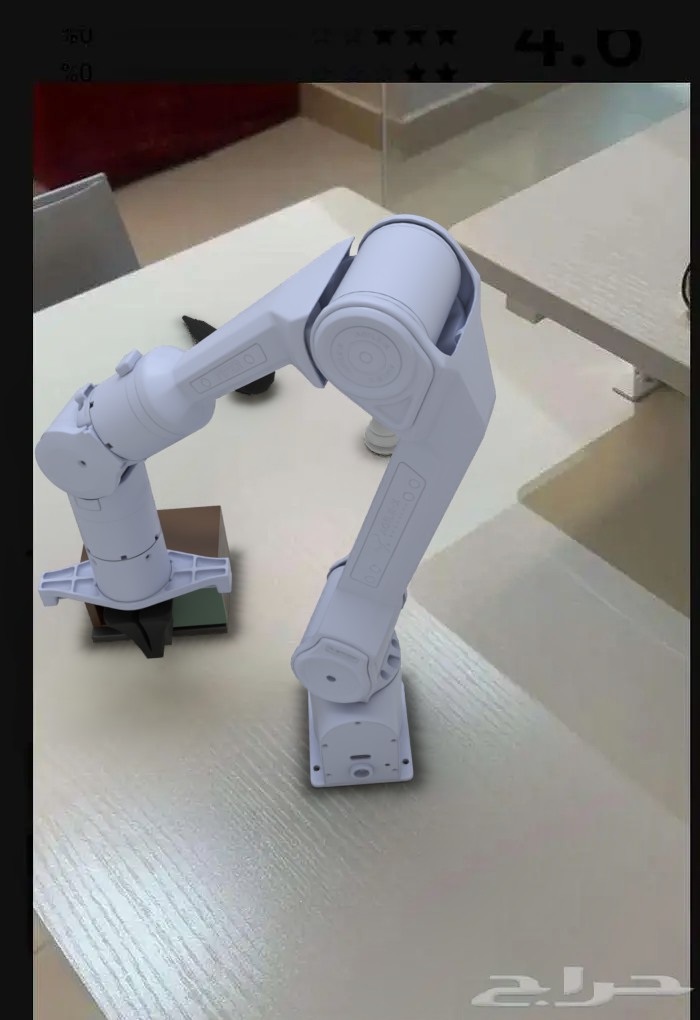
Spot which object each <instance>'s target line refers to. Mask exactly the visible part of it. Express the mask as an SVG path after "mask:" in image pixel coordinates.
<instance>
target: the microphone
mask: <svg viewBox="0 0 700 1020" xmlns="http://www.w3.org/2000/svg"><path fill="white" fill-rule="evenodd" d="M181 319H182V321H183V322H184V324H185V325H186V326H187V327H188V333H190V335H191V336H192V338H193V339H194V340H195V341H196V342H198V343H199V342H201V341H202V340H203V339H205V338H206V337H208V336H209V335H210V334H212V333H213V332H215V331H216V330H217V329H218V328H216V327H215V326H213V325H211V324H209V323H208V322H206V321H205V320H201V319H197V318H193V317H190V316H188V315H186V314H185V315H182V317H181ZM275 377H276V371H274V372H272V373H270V374H268V375H266V376H264V377H261V378H259V379H257V380H255V381H253V382H251V383H249V384H247V385H245V386H243V387H240V388H238V389H236V390H234V392H236V393H238V394H242V395H247V396H251V395H256V396H257V395H259V394H262V393H264V392H266V391H268V390H269V389H270V387H271V386H272V385H273V383H274V382H275V379H276V378H275Z"/></svg>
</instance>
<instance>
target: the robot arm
mask: <svg viewBox="0 0 700 1020" xmlns="http://www.w3.org/2000/svg"><path fill="white" fill-rule="evenodd" d="M355 239H356V236H351V237H349V238H346V239H344V240H341V241H339V242H337V243H335V244H334V245H333V246H330V247H329V249H327V250H325V251H324V252H323V253H322V254H320V255H318V256H317V257H316V258H315V259H313V260H311V262H309V263H308V264H306V265H305V266H303V267H302V268H301V269H300V270H298V271H297V272H295V273H294V274H293V275H291V276H290V277H289V278H287V279H285V280H284V281H283V282H281V283H280V284H278V285H277V286H275V288H273V289H272V290H270V291H268V292H267V293H266V294H264V296H262V297H260V298H259V299H257V301H255V302H253V303H252V304H251V305H249V306H248V307H247V308H245V309H244V310H243V311H241V312H239V313H238V314H236V315H235V316H234V317H232V318H231V319H230V320H228V321H227V322H225V323H224V324H223V325H221V326H220V327H219V328H216V329H217V330H216V331H215V332H213V333H212V334H210V335H209V336H208V337H206V338H205V339H203V340H202V341H201V342H198V343H196V344H195V345H194V346H192V347H191V348H190V349H188V350H186V349H184V348H181V347H178V346H174V345H159V346H156V347H154V348H153V349H150V350H149V351H148V352H147V353H145V354H144V355H143V354H142V352H140V351H139V349H137V348H134V349H132V350H131V351H129V352H128V353H126V354H125V355H123V357H122V359H121V360H120V361H119V362H118V363H117V365H116V366H115V368H114V369H115V372H116V373H114V374H113V375H111V376H110V377H108V378H107V379H105V380H104V381H101V383H96V384H94V383H93V382H87V383H86V384H85V385H83V386H82V387H80V388H79V389H77V390H76V391H75V392H74V394H73V395H72V396H71V398H70V399H69V400H68V401H67V403H66V404H65V406H64V407H63V408H62V409H61V410H60V412H59V413H58V414H57V416H56V417H54V420H53V421H52V422H51V423H50V424H49V426H48V427H47V428H46V429H45V431H44V432H43V433H42V435H41V437H40V438H39V441H38V442H37V443H36V445H35V449H34V456H35V457H34V458H35V461H36V463H37V466H38V468H39V470H40V471H41V473H42V474H43V475H44V477H45V478H46V479H47V480H48V481H49V482H50V483H52V485H54V486H55V487H56V488H58V489H60V490H61V491H63V492H64V493H66V495H67V498H68V502H69V505H70V507H71V510H72V513H73V516H74V519H75V523H76V525H77V528H78V532H79V534H80V537H81V540H82V544H83V543H84V546H85V549H86V552H87V555H88V558H89V560H87V561H84V562H81V563H80V562H78V563H76V564H72V565H69V566H65V567H61V568H59V569H54V570H46V571H41V574H40V579H39V583H38V587H37V592H38V595H39V598H40V600H41V602H42V605H43V607H54V606H58V605H59V602H60V600H67V599H68V600H71V601H77V602H83V603H85V602H87V603H92V604H96V605H101V606H104V607H105V608H104V620H105V622H106V624H107V625H108V627H111V628H114V629H116V630H118V631H120V632H122V633H123V634H125V635H126V636H127V637H129V638H130V639H131V640H130V641H132V642H133V643H134V645H136V647H137V648H138V649H139V650H140V651H141V652H142V654H143V655H144V657H145V658H146V659H147V660H151V659H162V658H164V656H165V647H166V646H165V634H164V632H165V629H166V627H167V625H168V623H169V622H170V618H171V615H172V609H173V598H174V597H177V596H180V595H183V594H186V593H189V592H192V591H195V590H197V589H200V588H213V587H217V591H218V592H219V593H229V594H230V593H231V592H232V589H233V588H232V587H233V586H232V585H233V571H232V568H231V560H230V561H229V558H211V557H204V556H199V555H194V554H189V553H183V552H178V551H173V550H168V549H167V548H166V544H165V540H164V537H163V532H162V529H161V525H160V521H159V517H158V513H157V510H158V509H157V505H156V501H155V498H154V494H153V489H152V486H151V483H150V481H151V480H150V478H149V474H148V470H147V467H146V461H147V460H148V459H149V458H151V457H153V456H155V455H156V454H158V453H160V452H162V451H163V450H165V449H167V448H169V447H171V446H173V445H175V444H176V443H178V442H180V441H182V440H184V439H186V438H187V437H189V436H190V435H192V434H194V433H196V432H198V431H199V430H203V428H205V427H206V426H207V425H208V424H209V423H210V421H211V420H212V419H213V416H214V413H215V409H216V401H217V400H218V399H220V398H222V397H223V396H226V395H228V394H230V393H232V392H235V390H236V389H238V388H240V387H243V386H245V385H247V384H249V383H251V382H253V381H255V380H257V379H259V378H261V377H264V376H266V375H268V374H270V373H272V372H274V371H275V372H276V371H278V370H280V369H282V368H284V367H287V366H289V365H293V366H294V367H295V368H296V370H298V371H299V372H300V373H301V374H302V375H303V376H304V377H305V378H306V380H307V381H308V382H309V383H310V384H311V385H312V386H313V387H314V388H316V389H325V387H326V386H327V384H328V382H329V383H330V384H331V385H332V386H333V387H335V389H337V390H338V391H339V392H340V393H341V394H343V395H344V396H346V397H347V398H348V399H349V400H350V401H351V402H352V403H354V404H356V405H357V406H358V407H359V408H361V410H363V411H364V412H365V413H367V414H368V415H370V416H371V417H373V418H375V419H376V420H377V421H379V422H380V423H381V424H382V425H384V426H385V427H386V428H387V429H389V430H390V431H391V432H393V433H394V434H395V435H396V436H398V437H399V440H398V442H397V444H396V447H395V449H394V451H393V454H391V456H390V458H389V461H388V463H387V465H386V468H385V470H384V473H383V475H382V477H381V480H380V482H379V485H378V487H377V489H376V492H375V493H374V496H373V499H372V501H371V503H370V505H369V508H368V511H367V513H366V515H365V517H364V520H363V523H362V524H361V527H360V529H359V531H358V534H357V536H356V539H355V541H354V543H353V545H352V548H351V549H350V552H349V553H348V554H346V555H345V556H343V557H342V558H340V559H338V560H336V561H335V562H334V563H333V564H332V565H331V566H330V567H329V569H328V571H327V574H326V581H325V584H324V586H323V589H322V591H321V593H320V596H319V598H318V601H317V603H316V605H315V607H314V610H313V612H312V614H311V616H310V619H309V621H308V624H307V625H306V629H305V631H304V633H303V635H302V638H301V639H300V642H299V644H298V646H296V647H295V650H294V651H293V653H292V655H291V658H290V668H291V671H292V673H293V674H294V677H295V678H296V679H297V680H298V682H299V683H300V684H301V685H302V686H303V687H304V688H305V689H306V690H307V704H308V708H307V709H308V736H309V738H308V739H309V743H308V744H309V765H310V766H309V769H310V773H309V775H310V784H311V786H312V787H313V788H329V787H340V786H341V787H342V786H343V787H344V786H355V785H370V784H381V783H382V784H385V783H396V782H408V781H411V780H412V779H413V778H414V768H413V759H412V758H413V757H412V749H411V739H410V731H409V721H408V711H407V703H406V695H405V685H404V682H403V680H402V651H401V646H400V640H399V638H398V635H397V632H396V630H395V628H396V625H397V622H398V620H399V617H400V615H401V613H402V610H403V609H404V606H405V604H406V602H407V600H408V589H407V588H408V587H409V585H410V582H411V581H412V579H413V577H414V575H415V573H416V571H417V569H418V567H419V565H420V563H421V562H422V559H423V557H424V555H425V553H426V552H427V550H428V548H429V545H430V543H431V541H432V540H433V537H434V536H435V534H436V532H437V530H438V528H439V526H440V524H441V522H442V520H443V518H444V516H445V514H446V512H447V511H448V508H449V506H450V504H451V502H452V501H453V498H454V497H455V495H456V493H457V491H458V489H459V487H460V485H461V483H462V481H463V479H464V477H465V475H466V473H467V471H468V469H469V468H470V466H471V464H472V462H473V460H474V459H475V456H476V454H477V452H478V450H479V449H480V448H479V447H480V446H481V444H482V442H483V440H484V438H485V435H486V432H487V430H488V426H489V423H490V420H491V417H492V415H493V411H494V409H495V403H496V399H497V393H496V387H495V381H494V375H493V370H492V366H491V361H490V356H489V350H488V345H487V342H486V336H485V335H486V334H485V331H484V330H485V329H484V326H483V320H482V312H481V311H482V309H481V304H482V303H481V302H482V301H481V300H482V299H481V298H482V297H481V296H482V295H481V290H482V289H481V287H482V284H481V283H482V281H481V278H482V277H481V275H480V273H479V272H478V271H477V269H476V268H475V266H474V265H473V264H472V263H473V262H471V260H470V259H469V258H468V256H467V254H466V253H465V251H464V249H462V247H461V246H460V244H459V243H458V241H457V240H456V239H455V238H454V236H453V235H452V234H451V233H450V232H449V231H448V230H447V229H446V228H445V227H444V226H442V225H441V224H440V223H437V222H435V221H433V220H432V219H431V218H427V217H424V216H420V215H417V214H411V213H410V214H409V213H402V214H393V215H389V216H387V217H384V218H382V219H380V220H378V221H377V222H375V223H373V224H372V225H371V226H370V227H369V228H368V229H367V231H366V232H365V233H364V235H363V236H362V238H361V240H360V241H359V244H358V248H357V252H356V254H355V255H351V249H352V246H353V243H354V241H355ZM405 762H407V764H405ZM315 769H319V770H315Z"/></svg>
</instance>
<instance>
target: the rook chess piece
mask: <svg viewBox="0 0 700 1020" xmlns="http://www.w3.org/2000/svg"><path fill="white" fill-rule="evenodd" d="M371 417H372V416H371ZM364 435H365V439H364V442H365V445H366V447H368V449H369V450H370V451H372V452H373V453H375V454H378V455H380V456H381V455H383V456H390V455H392V454H393V451H394V449H395V447H396V444H397V442H398V440H399V437H398V436H396V435H395V434H394V433H393V432H391V431H390V430H389V429H387V428H386V427H385V426H384V425H382V424H381V423H380V422H379V421H377V420H376V419H375V418H373V417H372V418H371V420H370V421H369V424H367V427H366V429H365V433H364Z"/></svg>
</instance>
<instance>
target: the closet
mask: <svg viewBox="0 0 700 1020" xmlns="http://www.w3.org/2000/svg"><path fill="white" fill-rule="evenodd" d="M157 513H158V517H159V521H160V525H161V529H162V532H163V537H164V540H165V544H166V548H167V549H168V550H173V551H178V552H183V553H189V554H194V555H199V556H204V557H211V558H229V561H230V562H231V558H232V557H231V554H230V547H229V542H228V536H227V531H226V526H225V521H224V515H223V510H222V506H221V505H219V504H218V505H206V506H205V505H204V506H192V507H190V506H189V507H179V508H177V507H176V508H163V509H157ZM81 549H82V550H81V555H80V559H79V561H80V562H79V563H81V562H84V561H87V560H89V558H88V555H87V552H86V549H85V546H84V543H83V542H82V548H81ZM223 597H224V602H225V607H226V612H227V617H228V618H229V607H230V592H229V593H223ZM84 605H85V608H86V611H87V614H88V616H89V620H90V623H91V625H92V630H91V636H90V638H91V640H92V643H107V642H120V641H132V640H131V639H130V638H129V637H127V636H126V635H125V634H123V633H122V632H120V631H118V630H116V629H114V628H111V627H108V625H107V624H106V622H105V620H104V608H105V607H104V606H101V605H96V604H92V603H87V602H84ZM228 632H229V622H228V623H222V624H208V625H194V626H181V627H173V634H172V638H174V637H189V636H199V635H200V636H201V635H214V634H215V635H216V634H227V633H228Z"/></svg>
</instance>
